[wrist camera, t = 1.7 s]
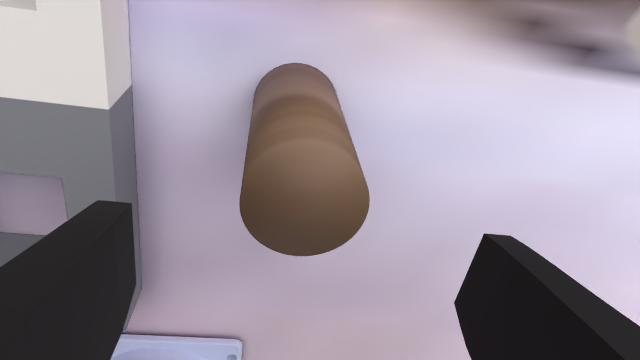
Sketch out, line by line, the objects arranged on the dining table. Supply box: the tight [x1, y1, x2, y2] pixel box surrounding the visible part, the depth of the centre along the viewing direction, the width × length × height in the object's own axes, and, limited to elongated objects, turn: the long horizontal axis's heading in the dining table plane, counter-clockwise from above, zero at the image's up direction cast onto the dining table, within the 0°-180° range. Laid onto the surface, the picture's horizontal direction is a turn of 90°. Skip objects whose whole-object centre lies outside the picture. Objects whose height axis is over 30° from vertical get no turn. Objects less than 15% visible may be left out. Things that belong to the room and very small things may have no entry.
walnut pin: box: [240, 63, 369, 256], centre depth 14 cm, size 3×3×7 cm
